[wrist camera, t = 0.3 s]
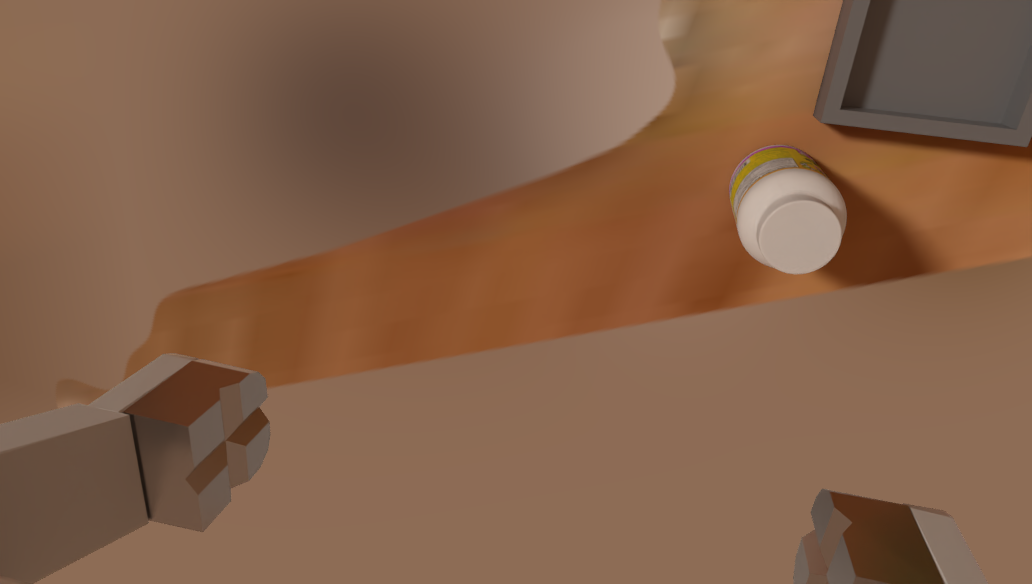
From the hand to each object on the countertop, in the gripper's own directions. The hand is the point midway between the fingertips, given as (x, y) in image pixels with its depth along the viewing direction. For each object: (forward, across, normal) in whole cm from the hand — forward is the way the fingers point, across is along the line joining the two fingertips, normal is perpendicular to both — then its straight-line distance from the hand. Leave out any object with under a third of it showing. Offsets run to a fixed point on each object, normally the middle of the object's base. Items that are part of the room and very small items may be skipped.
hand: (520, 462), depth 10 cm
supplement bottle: (+46, -11, +6) cm, 48 cm away
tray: (+46, -18, -7) cm, 50 cm away
